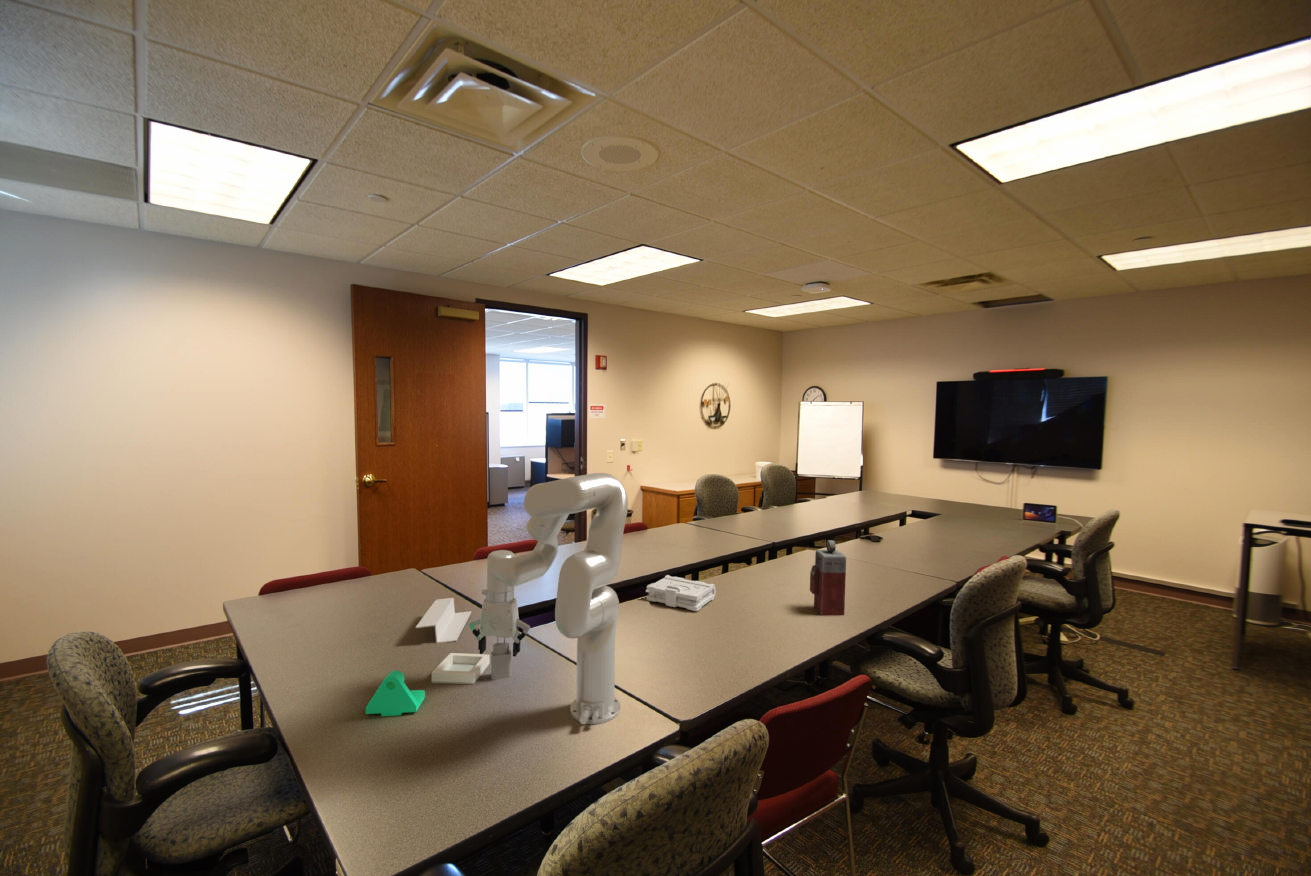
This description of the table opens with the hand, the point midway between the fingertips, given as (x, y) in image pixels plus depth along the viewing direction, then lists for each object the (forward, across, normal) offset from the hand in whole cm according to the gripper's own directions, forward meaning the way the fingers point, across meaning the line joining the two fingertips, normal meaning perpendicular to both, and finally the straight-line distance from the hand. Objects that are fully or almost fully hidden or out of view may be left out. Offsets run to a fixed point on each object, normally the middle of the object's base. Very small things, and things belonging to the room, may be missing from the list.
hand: (499, 653), depth 153 cm
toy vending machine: (+5, +107, +59) cm, 122 cm away
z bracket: (+8, -30, +32) cm, 44 cm away
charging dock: (+7, -11, 0) cm, 13 cm away
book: (+7, +49, +68) cm, 85 cm away
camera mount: (+7, -20, -18) cm, 28 cm away
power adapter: (+7, +1, 0) cm, 7 cm away
